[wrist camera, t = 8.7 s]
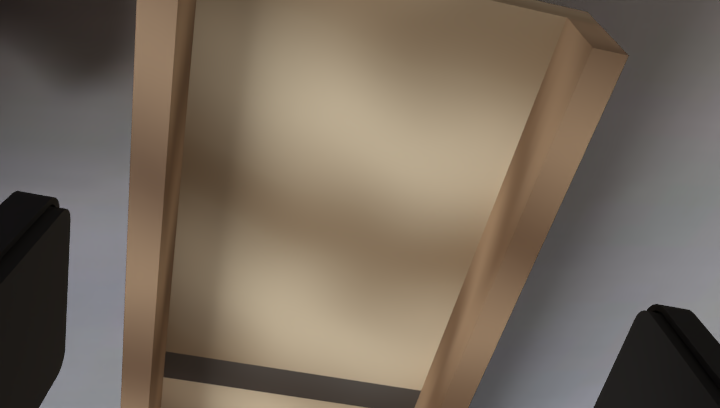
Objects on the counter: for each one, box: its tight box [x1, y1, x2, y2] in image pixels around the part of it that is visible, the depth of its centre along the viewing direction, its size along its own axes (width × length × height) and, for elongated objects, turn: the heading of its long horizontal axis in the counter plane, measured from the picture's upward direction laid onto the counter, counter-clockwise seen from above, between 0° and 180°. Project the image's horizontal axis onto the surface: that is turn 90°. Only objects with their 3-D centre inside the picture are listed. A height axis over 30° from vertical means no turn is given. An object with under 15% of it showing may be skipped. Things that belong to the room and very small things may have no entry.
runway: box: [121, 0, 629, 408], centre depth 20 cm, size 23×11×6 cm, turn 168°
